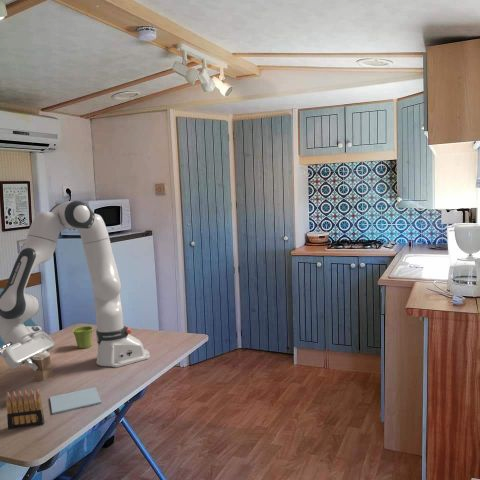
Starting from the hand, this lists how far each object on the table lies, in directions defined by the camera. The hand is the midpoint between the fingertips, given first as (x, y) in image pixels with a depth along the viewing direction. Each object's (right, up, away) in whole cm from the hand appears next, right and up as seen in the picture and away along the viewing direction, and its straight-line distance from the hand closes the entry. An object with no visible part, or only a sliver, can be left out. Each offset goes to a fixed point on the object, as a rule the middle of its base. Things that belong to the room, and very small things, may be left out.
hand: (43, 365), depth 180 cm
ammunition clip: (+3, -14, -22) cm, 26 cm away
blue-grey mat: (+13, -11, -6) cm, 18 cm away
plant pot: (-2, -5, +54) cm, 54 cm away
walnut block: (0, -5, +1) cm, 5 cm away
